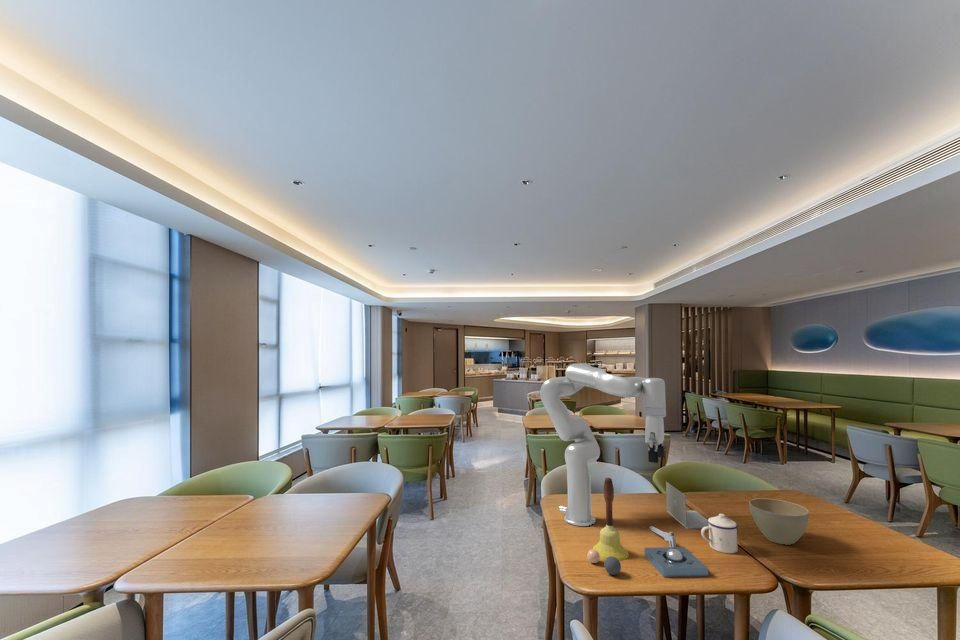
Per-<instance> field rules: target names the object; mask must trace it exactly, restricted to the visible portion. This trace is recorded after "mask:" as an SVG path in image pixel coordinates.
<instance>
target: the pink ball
mask: <svg viewBox="0 0 960 640" xmlns="http://www.w3.org/2000/svg"><path fill="white" fill-rule="evenodd" d="M586 557H587V560H588V561H589V562H590V563H591V564H597V563H598V562H599V561H600V559H601V558H600V555H599V553H598V551H596V550H594V549H592V548H591V549H589V550H588V552H587V556H586Z"/></svg>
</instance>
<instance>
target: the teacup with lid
mask: <svg viewBox="0 0 960 640" xmlns="http://www.w3.org/2000/svg"><path fill="white" fill-rule="evenodd" d="M707 520H708V523H709V526H706V527H703V528H702V529H701V530H700V531H701V532H700V534H701V536H702V539H704V541H707V542H709V546H710V548H711V549H713V550H714V551H717V552H720V553H723V554H736V553H737V552H738V532H737V528H738V524H737V522H736V521H734V520H732V519H731V518H729V517H727V516H726V515H725V514H724V513H719V514H718V515H716V516H711V517H710V516H709V518H708V519H707ZM707 530H708V538H707V537H706V536H705V531H707Z"/></svg>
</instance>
